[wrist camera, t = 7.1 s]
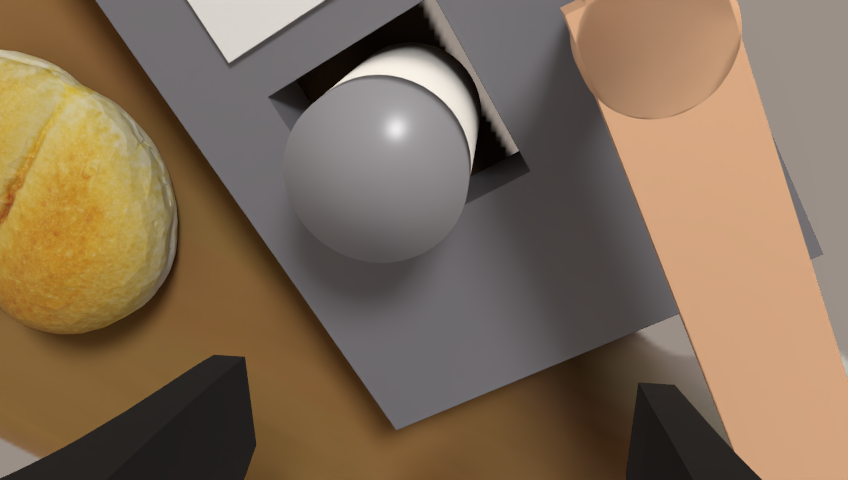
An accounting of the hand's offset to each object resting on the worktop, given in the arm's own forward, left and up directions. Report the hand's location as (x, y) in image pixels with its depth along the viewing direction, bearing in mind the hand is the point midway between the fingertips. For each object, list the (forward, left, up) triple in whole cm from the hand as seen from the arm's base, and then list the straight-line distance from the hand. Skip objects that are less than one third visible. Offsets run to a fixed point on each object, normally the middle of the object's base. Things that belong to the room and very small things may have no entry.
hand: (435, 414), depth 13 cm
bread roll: (+7, +12, -10) cm, 17 cm away
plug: (+4, 0, -10) cm, 10 cm away
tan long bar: (-1, -6, -3) cm, 7 cm away
